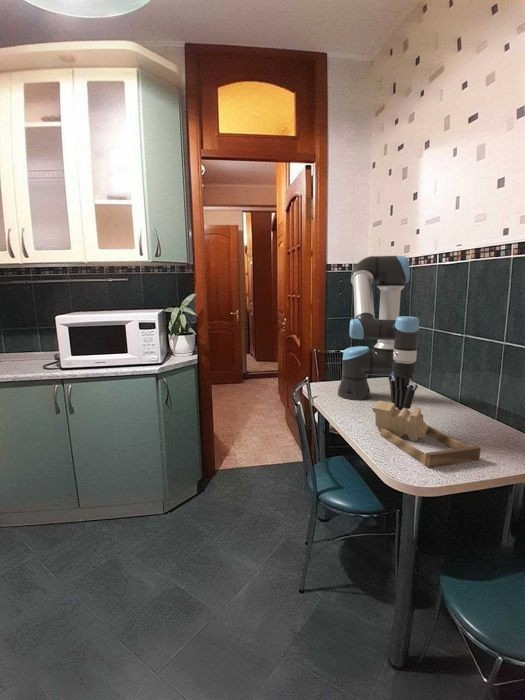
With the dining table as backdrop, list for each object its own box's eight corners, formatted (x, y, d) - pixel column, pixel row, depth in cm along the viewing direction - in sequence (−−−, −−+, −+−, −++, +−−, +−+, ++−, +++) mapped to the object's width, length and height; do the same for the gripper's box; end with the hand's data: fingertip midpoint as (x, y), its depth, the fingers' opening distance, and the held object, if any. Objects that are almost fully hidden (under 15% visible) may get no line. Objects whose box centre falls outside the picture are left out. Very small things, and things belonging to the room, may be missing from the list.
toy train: (423, 443, 115) (424, 417, 112) (372, 431, 125) (372, 407, 121) (427, 434, 119) (428, 409, 116) (377, 423, 129) (377, 399, 125)
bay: (380, 435, 122) (380, 424, 121) (423, 429, 126) (424, 419, 126) (428, 468, 99) (429, 455, 99) (479, 460, 104) (480, 447, 103)
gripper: (383, 358, 127) (379, 419, 131) (407, 365, 114) (401, 433, 119) (401, 357, 129) (396, 417, 133) (426, 364, 116) (420, 431, 121)
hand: (399, 425), depth 126 cm, fingers closed
